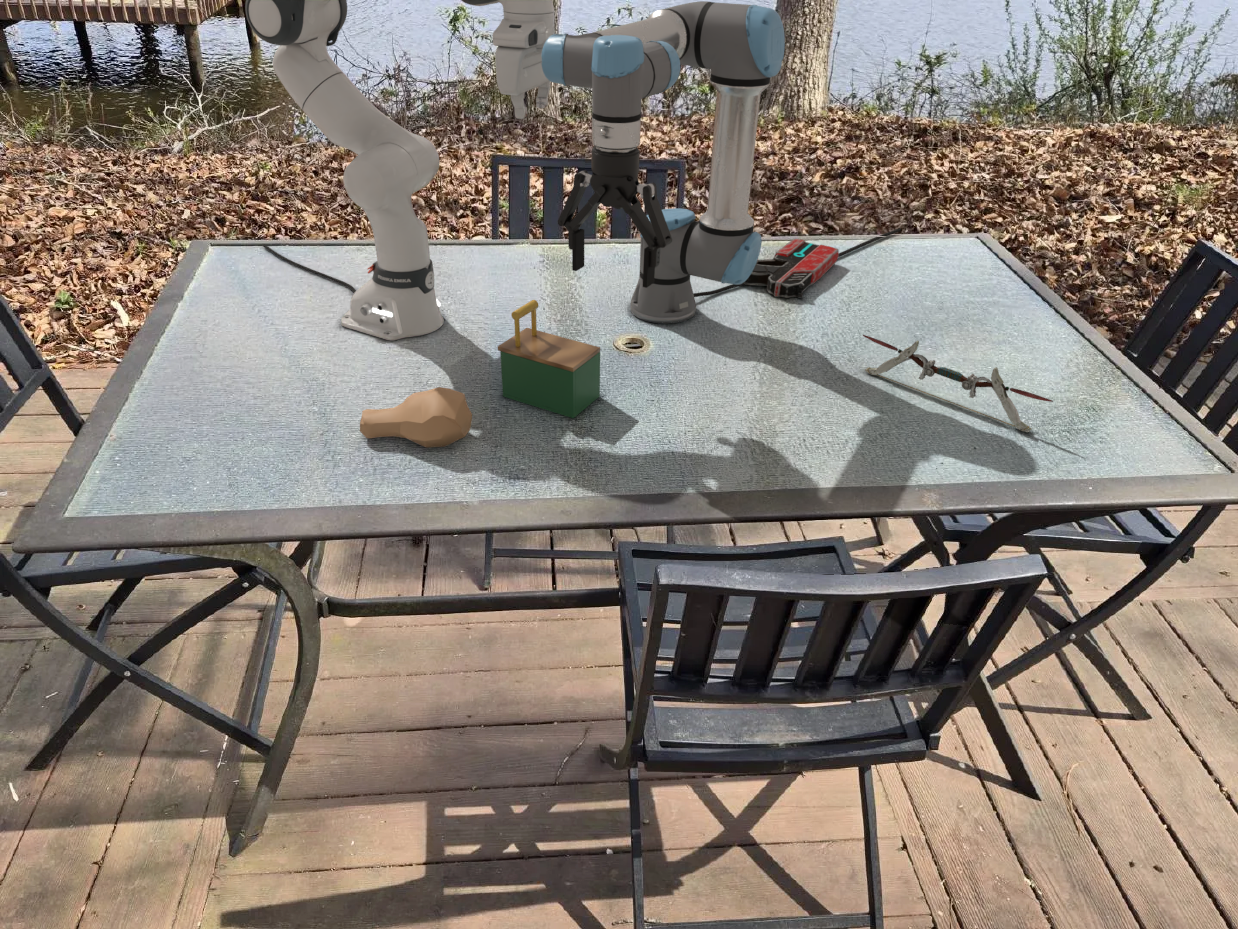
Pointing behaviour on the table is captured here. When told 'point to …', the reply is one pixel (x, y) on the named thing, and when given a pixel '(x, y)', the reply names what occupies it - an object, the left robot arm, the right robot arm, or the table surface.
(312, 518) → the table surface
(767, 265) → the gun
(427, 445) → the squash
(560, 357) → the lid
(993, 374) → the bow
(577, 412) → the chest
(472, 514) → the table surface
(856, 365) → the table surface
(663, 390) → the table surface
